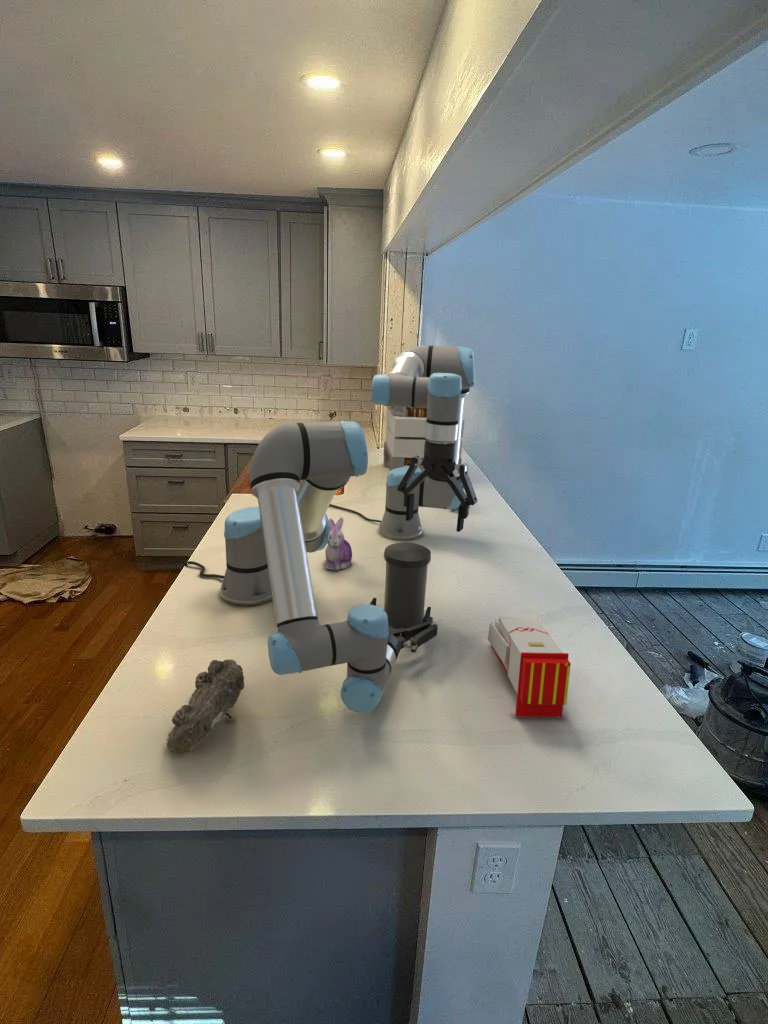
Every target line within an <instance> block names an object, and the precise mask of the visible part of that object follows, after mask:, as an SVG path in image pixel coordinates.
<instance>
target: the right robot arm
mask: <svg viewBox="0 0 768 1024" xmlns="http://www.w3.org/2000/svg"><path fill="white" fill-rule="evenodd" d="M475 379H476V377H475V353H474V350H473V349H471V348H470V347H464V346H459V345H458V346H455V345H429V344H425V345H417V346H412V347H411V348H407V349H405V350H403V351H402V352H400V353H399V354H397V356H396V357H395V359H394V360H393V363H392V367H391V370H390V371H389V373H388V374H386V373H383V374H375V375H374V376H373V378H372V381H371V389H370V390H371V391H370V393H371V395H370V396H371V402H372V404H374V405H378V406H384V407H387V406H401V407H417V408H427V419H426V431H425V438H426V439H427V440H426V441H425V445H424V458H423V459H422V458H419V456H415V457H413V458H411V463H410V466H404V467H400V468H396V469H393V470H391V471H390V470H389V471H388V473H387V475H386V482H385V504H384V505H385V507H384V508H385V509H384V513H383V515H382V519H381V520H379V519H375V518H374V519H373V518H368V517H366V516H365V515H363V513H361V512H359V511H356V510H353V509H350V508H348V507H347V508H346V507H342V506H339V505H335V504H331V503H330V505H329V507H332V508H336V509H340V510H343V511H347V512H350V513H353V514H356V515H358V516H360V517H361V518H363V519H365V520H366V521H369V522H375V523H379V527H378V533H379V534H380V535H381V536H382V537H385V538H387V539H389V540H395V541H410V540H415V539H418V538H420V537H421V536H422V535H423V525H422V524H421V518H420V515H419V508H420V507H421V508H431V509H441V510H445V511H446V510H452V509H453V510H457V509H458V507H459V509H458V510H457V520H456V532H458V533H460V532H461V531H463V530H464V523H465V520H466V519H467V518H468V517H469V512H470V506H475V504H477V503H478V501H479V500H478V497H477V495H476V492H475V489H474V486H473V484H472V481H471V478H470V475H469V473H468V472H469V469H468V468H469V467H468V464H467V463H466V462H465V463H461V464H458V459H459V447H460V439H461V438H460V436H461V425H462V419H463V414H464V403H465V397H466V396H467V395H468V394H470V388H473V387H475V385H476V381H475ZM420 464H422V466H421V467H423V471H422V469H421V468H420V466H419V465H420ZM460 503H461V505H460Z"/></svg>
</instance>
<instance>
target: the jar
mask: <svg viewBox="0 0 768 1024" xmlns="http://www.w3.org/2000/svg"><path fill="white" fill-rule="evenodd" d="M428 566H429V564H427V565H426V566H423V567H420V568H400V567H396V566H393V565H391V564H389V563H387V562H386V561H385V580H384V581H385V582H384V602H383V610H384V611H385V612H386V614H387V617H388V626H389V627H392V628H394V629H401V628H405V629H406V628H409V627H412V626H415V625H418V624H421V623H423V618H424V615H425V606H426V605H425V604H426V590H427V578H428Z"/></svg>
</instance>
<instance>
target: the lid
mask: <svg viewBox="0 0 768 1024" xmlns="http://www.w3.org/2000/svg"><path fill="white" fill-rule="evenodd" d="M431 558H432V552H431V550H430V549H429V548H428V547H426V546H424V545H422V544H419V543H415V542H396V543H395V542H394V543H392V544H388V545H387V546H386V547H385V548H384V551H383V559H384V561H385V563H386V562H387V563H389V564H391V565H393V566H396V567H400V568H420V567H423V566H426V565H427V564H428V565H429V564H430V562H431V560H432V559H431Z"/></svg>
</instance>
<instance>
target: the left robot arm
mask: <svg viewBox="0 0 768 1024" xmlns="http://www.w3.org/2000/svg"><path fill="white" fill-rule="evenodd" d="M368 453H369V451H368V444H367V440H366V436H365V433H364V430H363V427H362V426H361V425H360V424H359V422H357V421H354V420H353V421H350V420H349V421H347V420H334V421H333V420H332V421H311V422H285V423H282V424H280V425H279V424H278V425H277V426H275V427H274V428H272V429H271V430H269V431H268V432H267V433H266V434H265V435H264V437H263V438H262V439H261V441H260V442H259V443H258V444H257V447H256V449H255V450H254V453H253V456H252V459H251V463H250V466H249V467H250V468H249V486H250V492H251V495H252V496H253V497H255V498H256V499H257V503H258V506H248V507H243V508H239V509H237V510H234V511H233V512H231V513H230V514H229V515H227V517H226V518H225V520H224V533H223V537H224V541H225V543H224V544H225V561H226V569H225V572H224V575H222V574H216V573H205V571H206V567H205V566H204V565H203V564H201V563H199V562H198V561H197V562H196V561H192V560H188V561H186V562H184V563H183V567H184V566H185V567H186V566H188V565H194V566H197V567H198V568H200V569H201V570H200V571H199V576H200V577H202V578H216V579H222V582H221V586H220V596H221V598H222V599H223V601H224V602H226V603H228V604H231V605H236V606H241V607H243V606H244V607H249V606H257V605H262V604H265V603H268V602H270V601H272V602H273V609H274V616H275V623H276V628H277V630H276V631H275V632H274V633H273V632H272V633H270V634H269V635H268V637H267V649H268V650H267V652H268V660H269V664H270V667H271V670H272V671H273V673H274V674H276V675H278V676H282V675H283V676H285V675H291V674H296V673H297V674H301V673H304V672H309V671H312V670H317V669H321V668H326V667H331V666H337V665H343V664H346V677H345V679H344V680H343V681H342V686H341V689H340V693H339V694H340V699H341V702H342V704H343V705H344V706H345V707H346V708H347V709H348V710H350V711H352V712H353V713H358V714H369V713H371V712H372V711H373V710H374V709H376V708H377V706H378V704H379V702H380V701H381V700H382V698H383V693H384V691H385V689H386V686H387V684H388V681H389V679H390V676H391V674H392V671H393V670H394V666H395V664H396V662H397V660H398V657H399V655H400V652H401V651H402V650H403V649H404V648H405V649H409V651H410V653H414V654H415V653H416V652H417V651H418V649H419V648H420V647H421V646H423V645H424V644H426V643H427V642H429V641H430V640H432V639H434V638H435V637H437V635H438V627H439V625H438V623H437V624H436V623H433V621H434V617H433V616H431V611H432V607H431V606H427V608H426V609H425V610H426V611H425V612H424V618H423V623H421V624H418V625H415V626H412V627H409V628H406V629H405V628H401V629H399V628H389V625H388V617H387V614H386V612H385V611H384V608H382V607H380V606H378V605H377V597H373V598H372V600H370V603H369V604H368V603H367V604H366V603H365V604H364V603H363V604H359V605H356V606H355V607H352V608H351V609H350V610H349V611H348V615H347V619H346V620H344V621H337V622H332V623H326V624H325V623H324V624H320V622H319V619H318V617H319V616H318V610H317V605H316V598H315V593H314V586H313V581H312V575H311V569H310V563H309V559H308V557H309V556H308V554H309V553H315V552H319V551H322V550H323V549H324V548H326V547H327V546H328V544H327V543H328V539H329V537H328V535H329V531H330V529H329V518H328V515H327V511H328V509H329V507H330V506H329V505H330V504H331V502H332V500H333V498H334V496H335V495H336V492H337V491H338V490H340V489H342V488H344V487H345V486H346V485H347V483H348V482H349V481H350V479H351V477H355V478H358V477H362V476H364V475H365V474H366V473H367V471H368V465H369V464H368V463H369V454H368ZM187 563H188V564H187Z"/></svg>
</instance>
